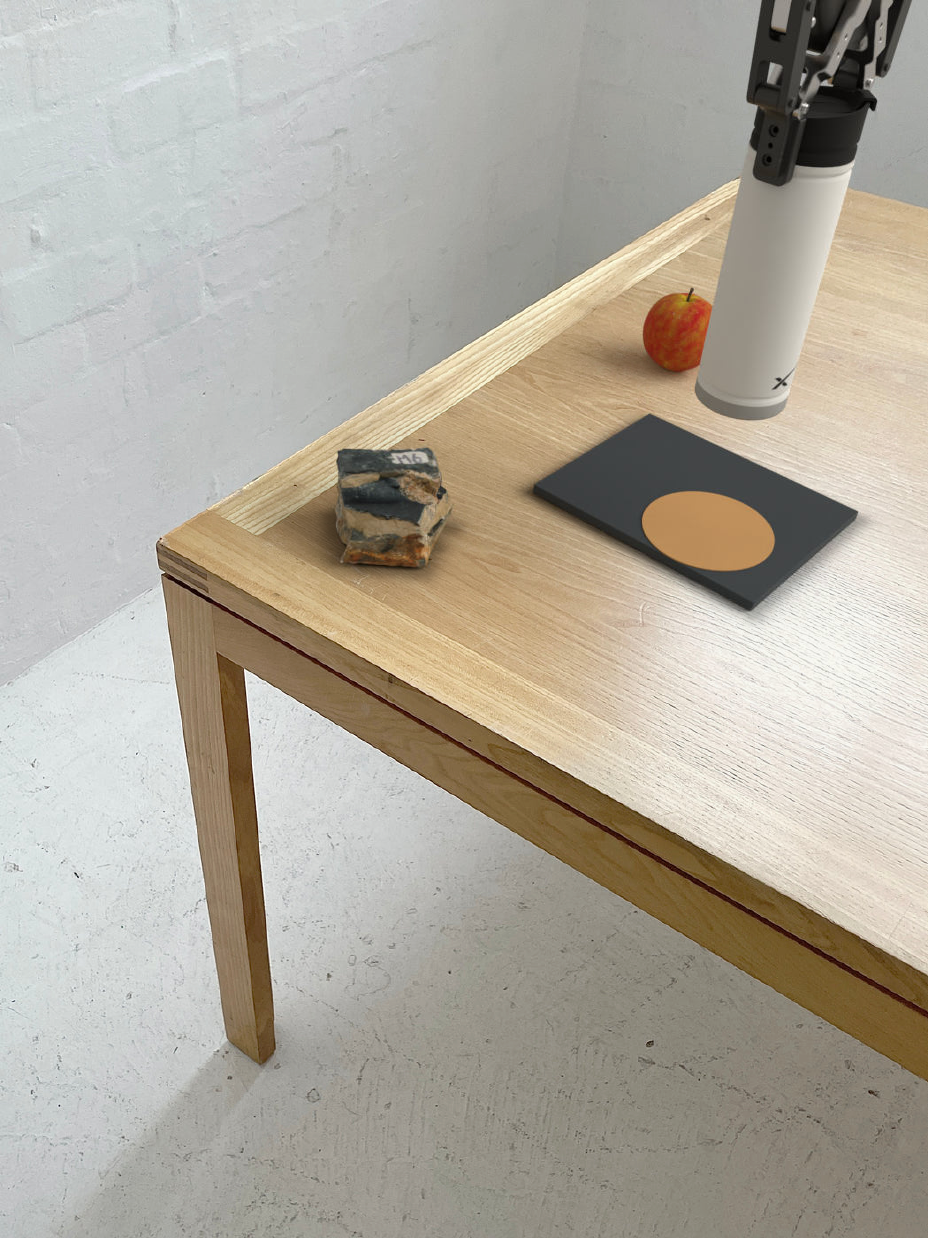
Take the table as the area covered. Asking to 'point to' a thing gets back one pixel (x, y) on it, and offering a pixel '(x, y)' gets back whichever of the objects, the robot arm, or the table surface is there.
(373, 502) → the rock
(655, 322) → the fruit
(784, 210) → the travel mug
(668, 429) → the mat
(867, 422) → the table surface
